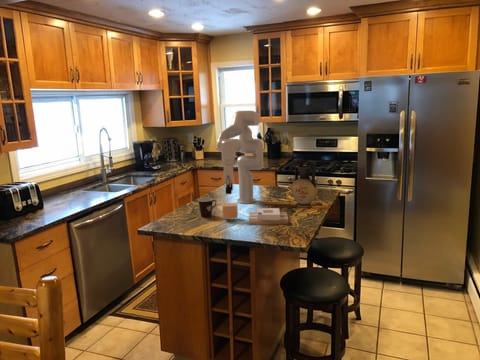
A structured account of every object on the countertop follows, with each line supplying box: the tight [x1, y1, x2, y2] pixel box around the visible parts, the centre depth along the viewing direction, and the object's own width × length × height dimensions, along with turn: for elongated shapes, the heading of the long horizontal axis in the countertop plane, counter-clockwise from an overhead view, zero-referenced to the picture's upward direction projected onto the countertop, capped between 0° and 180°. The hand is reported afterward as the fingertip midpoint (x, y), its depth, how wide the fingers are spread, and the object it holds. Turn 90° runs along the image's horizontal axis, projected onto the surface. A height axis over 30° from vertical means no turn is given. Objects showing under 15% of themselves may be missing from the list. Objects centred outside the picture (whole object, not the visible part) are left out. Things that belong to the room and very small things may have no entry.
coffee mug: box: [197, 197, 217, 218], centre depth 235 cm, size 12×9×10 cm
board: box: [248, 211, 289, 225], centre depth 224 cm, size 16×22×2 cm
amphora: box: [290, 158, 319, 208], centre depth 250 cm, size 18×17×30 cm
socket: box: [256, 207, 280, 220], centre depth 224 cm, size 13×13×4 cm
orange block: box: [222, 202, 239, 221], centre depth 226 cm, size 7×8×9 cm
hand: (229, 191), depth 223 cm, fingers open, 9 cm apart
